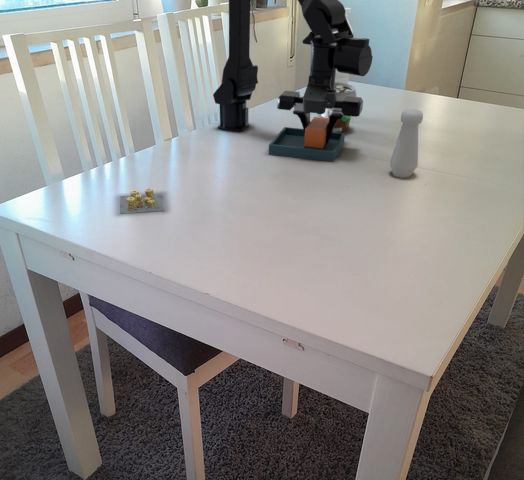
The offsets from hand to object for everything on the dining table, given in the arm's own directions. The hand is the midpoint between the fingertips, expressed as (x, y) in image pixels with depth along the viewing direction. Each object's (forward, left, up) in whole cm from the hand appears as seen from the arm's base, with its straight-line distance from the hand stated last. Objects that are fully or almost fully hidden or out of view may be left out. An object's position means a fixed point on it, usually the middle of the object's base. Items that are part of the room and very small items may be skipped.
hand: (317, 142), depth 128 cm
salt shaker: (+21, -11, -2) cm, 24 cm away
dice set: (-25, -42, -2) cm, 49 cm away
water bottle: (-1, +28, -2) cm, 28 cm away
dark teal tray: (-2, -1, -1) cm, 3 cm away
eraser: (0, 0, -1) cm, 1 cm away
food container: (+3, +16, -2) cm, 17 cm away
